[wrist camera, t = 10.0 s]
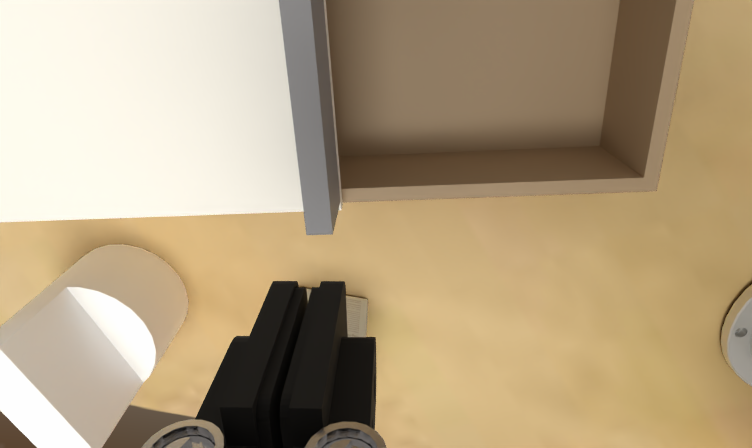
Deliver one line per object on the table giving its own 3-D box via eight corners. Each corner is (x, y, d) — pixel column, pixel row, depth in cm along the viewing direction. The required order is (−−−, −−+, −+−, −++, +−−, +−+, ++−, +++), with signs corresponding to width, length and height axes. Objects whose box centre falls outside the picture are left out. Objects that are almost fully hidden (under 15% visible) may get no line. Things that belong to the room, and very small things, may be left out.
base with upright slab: (210, 320, 40) (142, 443, 29) (118, 355, 41) (21, 484, 30) (144, 226, 36) (40, 325, 25) (48, 269, 38) (-90, 378, 27)
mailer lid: (313, -153, 21) (292, -192, 16) (342, 204, 27) (333, 243, 23) (-190, -119, 22) (-337, -148, 17) (-44, 218, 28) (-123, 258, 24)
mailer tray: (647, -136, 27) (729, -178, 20) (605, 153, 33) (656, 191, 27) (241, -111, 28) (196, -143, 21) (278, 166, 34) (253, 205, 28)
